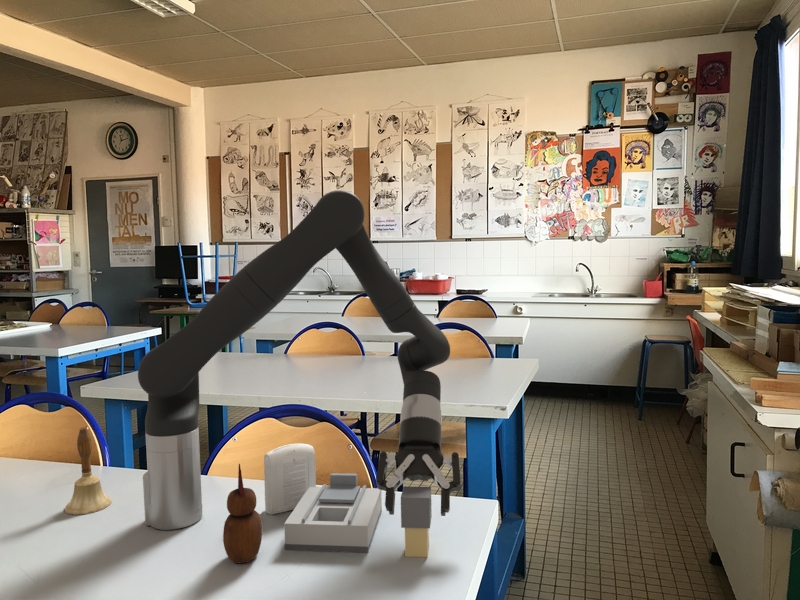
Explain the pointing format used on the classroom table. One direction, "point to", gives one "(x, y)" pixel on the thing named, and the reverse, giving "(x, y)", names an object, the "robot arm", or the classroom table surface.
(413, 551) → the plug
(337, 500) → the shutter
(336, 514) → the socket
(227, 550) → the wooden figurine
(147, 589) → the classroom table surface
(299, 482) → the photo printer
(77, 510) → the hand bell
